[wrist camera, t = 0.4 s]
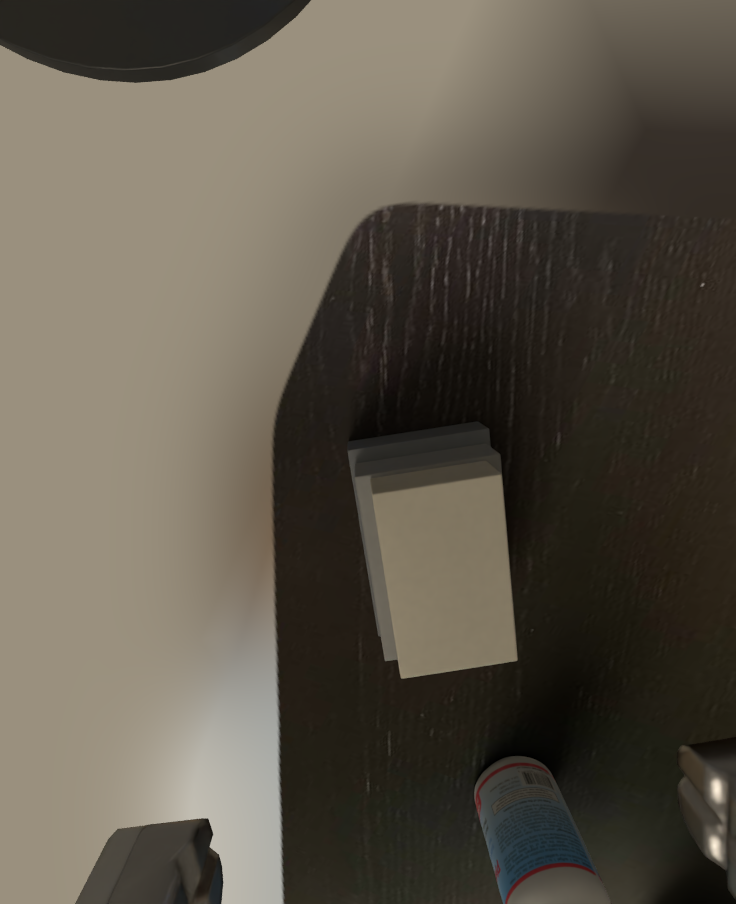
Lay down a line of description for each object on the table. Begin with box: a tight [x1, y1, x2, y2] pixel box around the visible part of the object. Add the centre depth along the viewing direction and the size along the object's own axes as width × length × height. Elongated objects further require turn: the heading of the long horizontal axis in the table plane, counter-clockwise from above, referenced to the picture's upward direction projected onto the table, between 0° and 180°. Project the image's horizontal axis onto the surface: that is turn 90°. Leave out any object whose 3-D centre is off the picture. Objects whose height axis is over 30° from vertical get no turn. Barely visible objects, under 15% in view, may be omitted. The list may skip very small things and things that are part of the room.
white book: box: [370, 461, 518, 679], centre depth 23 cm, size 10×6×2 cm, turn 9°
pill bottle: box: [474, 756, 611, 904], centre depth 29 cm, size 6×6×11 cm
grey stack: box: [348, 421, 516, 661], centre depth 27 cm, size 12×8×5 cm, turn 9°
